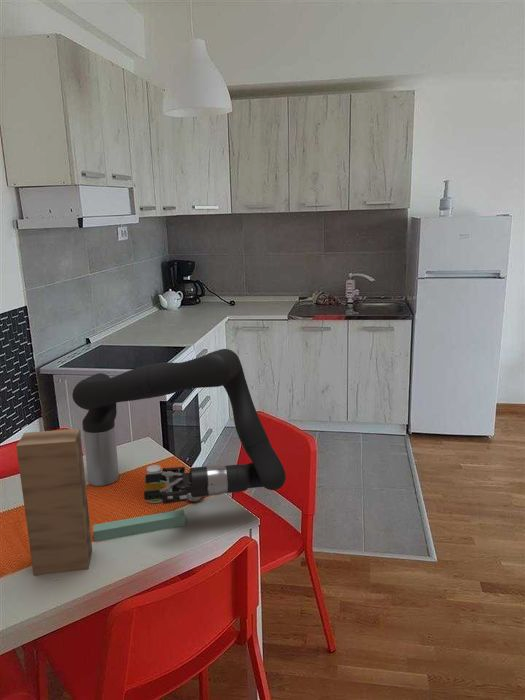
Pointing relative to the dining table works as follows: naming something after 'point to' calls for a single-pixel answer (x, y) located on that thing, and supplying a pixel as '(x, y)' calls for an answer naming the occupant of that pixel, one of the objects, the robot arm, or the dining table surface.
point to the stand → (55, 500)
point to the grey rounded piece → (192, 497)
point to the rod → (138, 525)
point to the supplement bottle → (155, 485)
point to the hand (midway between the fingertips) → (144, 486)
